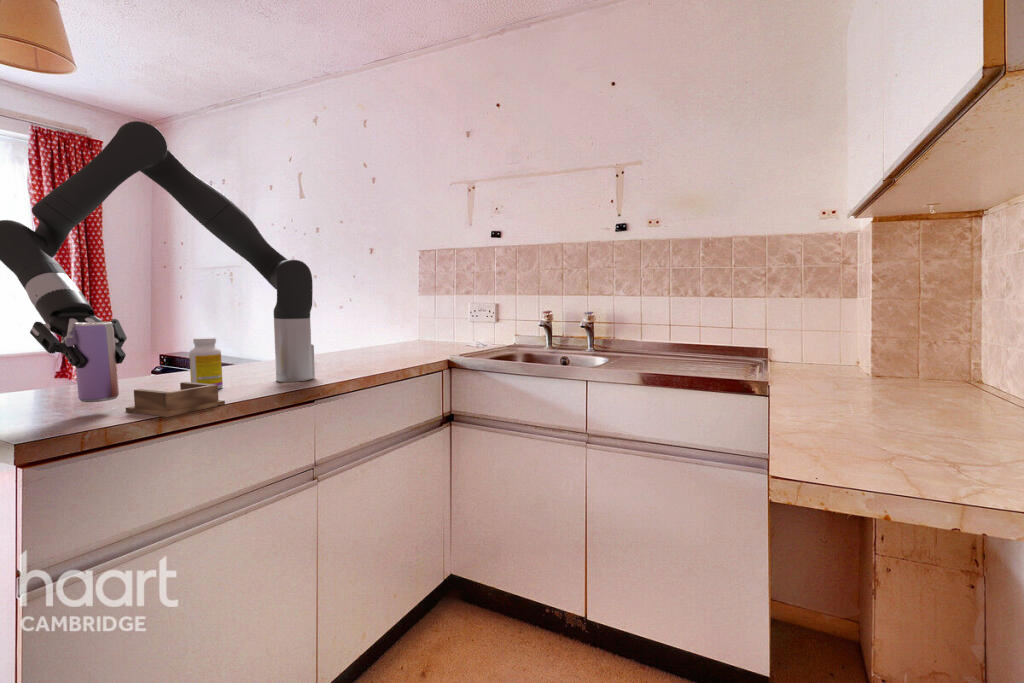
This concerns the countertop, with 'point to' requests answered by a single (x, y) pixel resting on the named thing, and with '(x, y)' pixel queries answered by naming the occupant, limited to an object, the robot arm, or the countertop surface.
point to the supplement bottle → (206, 362)
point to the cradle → (176, 400)
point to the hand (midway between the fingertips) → (102, 362)
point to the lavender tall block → (96, 361)
